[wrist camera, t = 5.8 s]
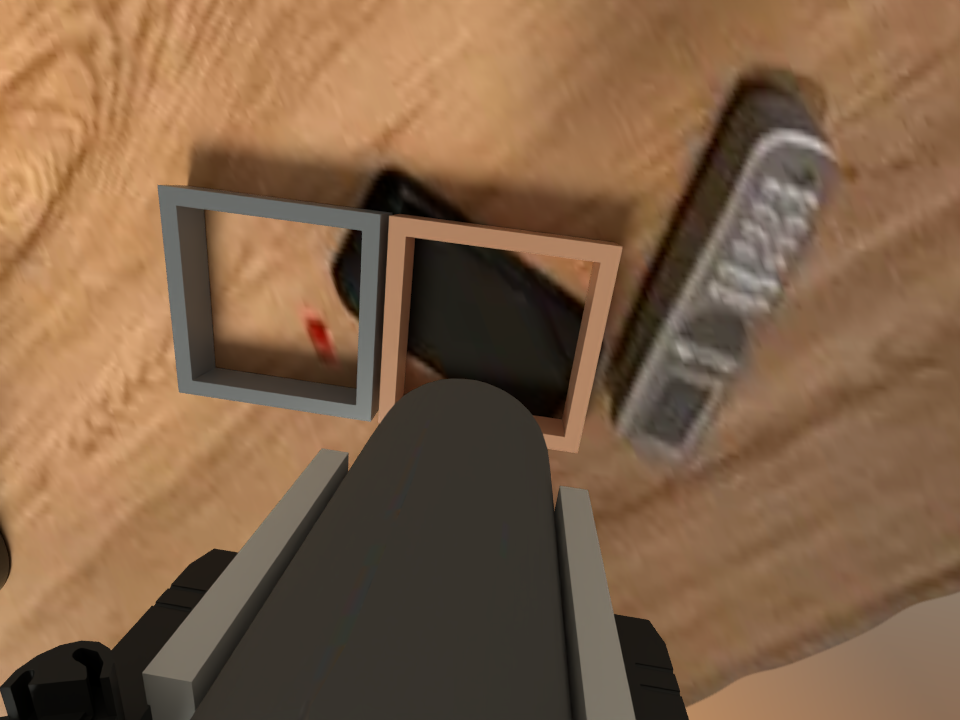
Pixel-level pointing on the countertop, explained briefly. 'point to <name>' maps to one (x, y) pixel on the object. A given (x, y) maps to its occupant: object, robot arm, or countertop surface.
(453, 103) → the countertop surface
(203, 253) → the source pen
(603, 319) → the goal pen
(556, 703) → the bottle
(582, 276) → the countertop surface
